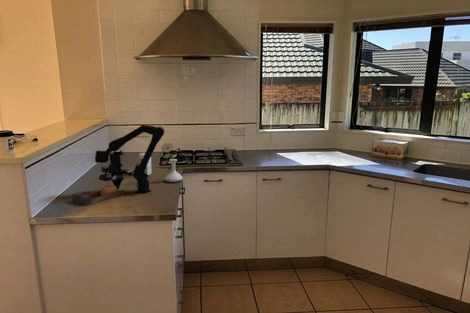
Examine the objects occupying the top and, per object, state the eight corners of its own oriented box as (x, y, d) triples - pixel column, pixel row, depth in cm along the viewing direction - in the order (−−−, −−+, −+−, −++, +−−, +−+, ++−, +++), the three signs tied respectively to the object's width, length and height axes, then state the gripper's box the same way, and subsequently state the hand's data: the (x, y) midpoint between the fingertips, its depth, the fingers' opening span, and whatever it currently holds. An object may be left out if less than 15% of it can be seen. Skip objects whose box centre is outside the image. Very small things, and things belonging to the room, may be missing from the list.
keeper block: (117, 194, 196) (116, 186, 195) (108, 197, 191) (107, 189, 190) (109, 192, 199) (109, 185, 198) (100, 195, 194) (100, 187, 193)
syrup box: (139, 175, 238) (138, 153, 235) (144, 173, 243) (144, 152, 241) (146, 175, 236) (146, 154, 233) (151, 173, 241) (151, 153, 239)
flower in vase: (182, 178, 231) (182, 140, 226) (183, 183, 220) (182, 143, 215) (162, 178, 229) (161, 140, 224) (161, 183, 218) (160, 143, 213)
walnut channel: (124, 193, 197) (124, 186, 196) (86, 205, 178) (85, 197, 177) (111, 190, 203) (111, 183, 202) (73, 201, 183) (72, 194, 183)
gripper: (119, 158, 208) (121, 183, 212) (91, 163, 193) (93, 190, 196) (132, 160, 203) (133, 186, 206) (104, 166, 187) (106, 194, 190)
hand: (117, 189), depth 200 cm, fingers closed
